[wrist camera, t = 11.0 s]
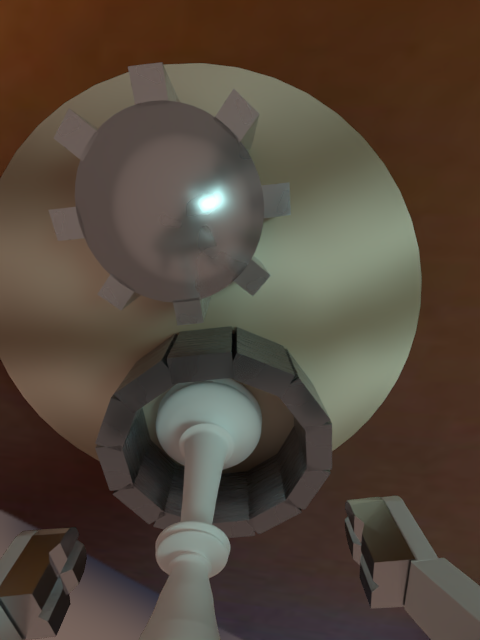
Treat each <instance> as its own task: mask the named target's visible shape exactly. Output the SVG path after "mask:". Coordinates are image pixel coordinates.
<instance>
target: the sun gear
mask: <svg viewBox="0 0 480 640" xmlns="http://www.w3.org/2000/svg"><path fill="white" fill-rule="evenodd" d="M128 70H129V75H130V81H131V86H132V91H133V96H134V101H135V105H132V106H130V107H127V108H125V109H123V110H121V111H120V112H118V113H116V114H114V115H113V116H112V117H110V118H109V119H108V120H107V121H106V122H104V123H103V124H102V125H101V126H100V128H99V129H98V128H97V127H95V126H94V125H92V124H91V123H89V122H88V121H87V120H85V119H84V118H82V117H81V116H79V115H78V114H76V113H75V112H74V111H72V110H71V109H68V111H67V113H66V115H65V117H64V119H63V121H62V123H61V125H60V126H59V128H58V130H57V132H56V134H55V136H54V139H55V140H56V141H57V142H59V143H60V144H61V145H62V146H64V147H65V148H66V149H68V150H69V151H70V152H71V153H73V154H74V155H75V156H76V157H78V158H79V159H80V163H79V166H78V169H77V175H76V181H75V204H76V207H69V208H60V209H52V210H49V214H50V217H51V220H52V223H53V227H54V230H55V233H56V236H57V240H58V241H64V240H74V239H84V238H85V240H86V242H87V245H88V247H89V248H90V250H91V252H92V253H93V255H94V256H95V258H96V259H97V260H98V262H99V263H100V264H101V266H102V267H103V268H104V269H105V270H106V271H107V272H108V273H109V274H110V276H109V277H108V279H107V280H106V282H105V283H104V285H103V286H102V288H101V289H100V291H99V292H98V294H97V295H99V296H100V297H102V298H103V299H105V300H106V301H108V302H109V303H111V304H112V305H113V306H115V307H116V308H118V309H119V310H123V309H124V308H125V307H126V306H128V305H129V304H130V303H132V302H133V301H134V300H136V299H137V298H138V297H139V296H141V295H142V296H145V297H148V298H151V299H154V300H159V301H163V302H173V305H174V310H175V316H176V321H177V326H178V325H187V324H197V323H204V319H205V316H206V313H207V310H208V306H209V303H210V300H211V295H213V294H215V293H218V292H219V291H221V290H222V289H224V288H225V287H227V286H228V285H229V284H231V283H232V282H233V281H234V282H235V283H237V284H238V285H239V286H241V287H242V288H243V289H244V290H246V291H247V292H248V293H249V294H251V295H252V296H254V295H255V294H256V292H257V291H258V290H259V289H260V288H261V286H262V285H263V284H264V283H265V282H266V280H267V279H268V278H269V277H270V276H271V275H270V274H269V272H268V271H267V269H266V268H265V267H264V265H263V264H262V262H261V261H260V260H258V259H257V258H256V257H255V256H254V253H255V251H256V248H257V246H258V243H259V240H260V237H261V232H262V228H263V220H264V218H273V217H280V216H287V215H291V208H290V185H289V182H288V183H279V184H270V185H262V186H261V182H260V179H259V175H258V172H257V170H256V167H255V165H254V162H253V160H252V159H251V157H250V155H249V153H248V151H249V150H250V148H251V147H252V144H253V140H254V135H255V131H256V127H257V122H258V118H259V113H258V112H257V111H256V110H255V109H254V108H253V107H252V106H251V105H250V104H249V103H248V102H247V101H246V100H245V99H244V98H243V97H242V96H241V95H240V94H239V93H238V92H237V91H236V90H235V89H233V90H232V92H231V93H230V95H229V96H228V98H227V99H226V101H225V102H224V104H223V105H222V107H221V108H220V110H219V111H218V113H217V114H216V116H215V117H214V116H212V115H211V114H209V113H208V112H206V111H204V110H202V109H199V108H197V107H195V106H193V105H189V104H185V103H182V102H180V101H179V99H178V97H177V94H176V92H175V90H174V88H173V85H172V83H171V81H170V79H169V76H168V74H167V72H166V70H165V67H164V65H163V63H162V62H160V63H152V64H144V65H136V66H128Z"/></svg>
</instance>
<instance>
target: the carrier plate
mask: <svg viewBox="0 0 480 640" xmlns="http://www.w3.org/2000/svg"><path fill="white" fill-rule="evenodd" d="M164 67H165V70H166V72H167V74H168V76H169V79H170V81H171V83H172V85H173V88H174V90H175V92H176V94H177V97H178V99H179V101H180V102H182V103H185V104H189V105H193V106H195V107H197V108H199V109H202V110H204V111H206V112H208V113H209V114H211V115H212V116H214V117H215V116H216V114H217V113H218V111H219V110H220V108H221V107H222V105H223V104H224V102H225V101H226V99H227V98H228V96H229V95H230V93H231V92H232V90H233V89H235V90H236V91H237V92H238V93H239V94H240V95H241V96H242V97H243V98H244V99H245V100H246V101H247V102H248V103H249V104H250V105H251V106H252V107H253V108H254V109H255V110H256V111H257V112H258V113H259V118H258V122H257V127H256V131H255V135H254V140H253V144H252V147H251V148H250V150H249V151H248V153H249V155H250V157H251V159H252V160H253V162H254V165H255V167H256V170H257V172H258V175H259V179H260V182H261V186H262V185H270V184H279V183H288V182H289V185H290V208H291V215H287V216H280V217H273V218H264V220H263V228H262V232H261V237H260V240H259V243H258V246H257V248H256V251H255V253H254V256H255V257H256V258H257V259H258V260H260V261H261V262H262V264H263V265H264V267H265V268H266V269H267V271H268V272H269V274H270V275H271V276H270V277H269V278H268V279H267V280H266V282H265V283H264V284H263V285H262V286H261V288H260V289H259V290H258V291H257V292H256V294H255V295H254V296H252V295H251V294H249V293H248V292H247V291H246V290H244V289H243V288H242V287H241V286H239V285H238V284H237V283H235V282H234V281H233V282H232V283H231V284H229V285H228V286H227V287H225V288H224V289H222V290H221V291H219V292H218V293H215V294H213V295H211V300H210V303H209V306H208V310H207V313H206V316H205V319H204V323H197V324H187V325H178V326H177V321H176V316H175V310H174V305H173V302H163V301H159V300H154V299H151V298H148V297H145V296H142V295H141V296H139V297H138V298H137V299H136V300H134V301H133V302H132V303H130V304H129V305H128V306H126V307H125V308H124V309H123V310H119V309H118V308H116V307H115V306H113V305H112V304H111V303H109V302H108V301H106V300H105V299H103V298H102V297H100V296H99V295H97V294H98V292H99V291H100V289H101V288H102V286H103V285H104V283H105V282H106V280H107V279H108V277H109V276H110V274H109V273H108V272H107V271H106V270H105V269H104V268H103V267H102V266H101V264H100V263H99V262H98V260H97V259H96V258H95V256H94V255H93V253H92V252H91V250H90V248H89V247H88V245H87V242H86V240H85V238H84V239H74V240H64V241H58V240H57V236H56V233H55V230H54V227H53V223H52V220H51V217H50V214H49V210H52V209H60V208H69V207H76V204H75V181H76V175H77V169H78V166H79V163H80V159H79V158H78V157H76V156H75V155H74V154H73V153H71V152H70V151H69V150H68V149H66V148H65V147H64V146H62V145H61V144H60V143H59V142H57V141H56V140H55V139H54V136H55V134H56V132H57V130H58V128H59V126H60V125H61V123H62V121H63V119H64V117H65V115H66V113H67V111H68V109H71V110H72V111H74V112H75V113H76V114H78V115H79V116H81V117H82V118H84V119H85V120H87V121H88V122H89V123H91V124H92V125H94V126H95V127H97V128H98V129H99V128H100V126H101V125H102V124H103V123H104V122H106V121H107V120H108V119H109V118H110V117H112V116H113V115H114V114H116V113H118V112H120V111H121V110H123V109H125V108H127V107H130V106H132V105H135V101H134V96H133V91H132V86H131V81H130V75H129V72H127V73H125V74H122V75H119V76H117V77H114V78H112V79H109V80H107V81H104V82H101V83H99V84H96V85H94V86H92V87H91V88H89V89H87V90H86V91H84V92H82V93H81V94H79V95H77V96H76V97H74V98H72V99H70V100H69V101H67V102H65V103H64V104H63V105H62V106H60V107H59V108H58V109H57V110H56V111H55V112H53V113H52V114H51V115H50V116H49V117H47V118H46V119H45V120H44V121H43V122H42V123H40V124H39V125H38V126H37V127H36V128H35V130H34V131H33V132H32V133H31V134H30V136H29V137H28V138H27V139H26V140H25V142H24V143H23V144H22V145H21V146H20V148H19V149H18V150H17V151H16V153H15V154H14V156H13V158H12V159H11V161H10V163H9V164H8V166H7V168H6V170H5V171H4V173H3V175H2V176H1V178H0V359H1V361H2V362H3V364H4V366H5V368H6V370H7V372H8V374H9V376H10V377H11V379H12V380H13V382H14V383H15V385H16V386H17V388H18V389H19V391H20V392H21V394H22V395H23V397H24V398H25V399H26V400H27V402H28V403H29V404H30V405H31V406H32V407H33V409H34V410H35V411H36V412H37V413H38V415H39V416H40V417H41V418H42V419H43V420H44V421H46V422H47V423H48V424H49V425H50V426H51V427H52V428H53V429H54V430H55V431H56V432H57V433H58V434H60V435H61V436H62V437H64V438H65V439H66V440H68V441H69V442H70V443H71V444H73V445H74V446H75V447H77V448H78V449H80V450H82V451H83V452H85V453H86V454H88V455H90V456H91V457H93V458H95V459H96V460H98V461H99V458H98V455H97V452H96V449H95V447H96V446H97V444H95V442H96V439H97V436H98V433H99V431H100V428H101V425H102V422H103V419H104V416H105V413H106V410H107V407H108V405H109V402H110V399H111V397H112V395H113V394H114V393H115V391H116V390H117V388H118V387H119V386H120V384H121V383H122V381H123V380H124V379H125V377H126V376H127V374H128V373H129V371H130V370H131V369H132V367H133V366H134V364H135V363H136V362H137V361H138V360H139V359H141V358H142V357H143V356H145V355H146V354H147V353H149V352H150V351H152V350H153V349H154V348H156V347H157V346H159V345H160V344H161V343H163V342H164V341H166V340H167V339H168V338H170V337H171V336H172V335H174V334H175V333H176V334H177V335H179V333H180V331H189V330H199V329H208V328H218V327H227V326H232V331H233V333H234V331H235V329H236V327H239V328H241V329H244V330H246V331H249V332H251V333H253V334H256V335H258V336H261V337H263V338H266V339H268V340H271V341H273V342H275V343H278V344H280V345H283V346H284V349H286V348H287V349H288V351H289V352H290V353H291V355H292V356H293V358H294V359H295V360H296V362H297V363H298V364H299V366H300V367H301V368H302V370H303V371H304V372H305V374H306V375H307V376H308V378H309V379H310V380H311V382H312V383H313V385H314V387H315V389H316V391H317V393H318V395H319V397H320V399H321V401H322V403H323V405H324V407H325V409H326V411H327V413H328V416H329V418H330V421H331V423H332V451H333V450H335V449H336V448H337V447H339V446H340V445H341V444H342V443H344V442H345V441H346V440H347V439H349V438H350V437H351V436H353V435H354V434H355V433H356V432H357V431H358V430H359V429H360V428H361V427H362V426H363V425H364V424H365V423H366V422H367V421H368V420H369V419H370V418H371V416H372V415H373V414H374V413H375V411H376V410H377V409H378V408H379V406H380V405H381V404H382V403H383V401H384V400H385V399H386V397H387V395H388V394H389V392H390V391H391V389H392V387H393V386H394V384H395V383H396V381H397V379H398V377H399V375H400V373H401V371H402V369H403V366H404V364H405V362H406V360H407V358H408V355H409V352H410V349H411V346H412V342H413V339H414V336H415V333H416V328H417V322H418V317H419V311H420V303H421V279H422V278H421V267H420V257H419V248H418V244H417V240H416V236H415V232H414V228H413V224H412V220H411V217H410V215H409V212H408V210H407V207H406V205H405V202H404V200H403V197H402V195H401V192H400V190H399V189H398V187H397V185H396V183H395V182H394V180H393V178H392V177H391V175H390V173H389V171H388V170H387V168H386V166H385V165H384V163H383V162H382V160H381V159H380V158H379V157H378V155H377V154H376V153H375V152H374V150H373V149H372V148H371V147H370V145H369V144H368V143H367V142H366V140H365V139H364V138H363V137H362V136H361V135H360V134H359V133H358V132H357V131H356V130H355V129H354V128H352V127H351V126H350V125H349V124H348V123H347V122H346V121H345V120H344V119H343V118H342V117H341V116H339V115H338V114H337V113H336V112H334V111H333V110H331V109H330V108H328V107H327V106H325V105H324V104H322V103H321V102H320V101H318V100H317V99H315V98H314V97H312V96H311V95H309V94H308V93H306V92H303V91H301V90H299V89H297V88H295V87H293V86H291V85H289V84H286V83H284V82H282V81H280V80H278V79H276V78H273V77H270V76H266V75H263V74H259V73H256V72H252V71H249V70H245V69H242V68H238V67H230V66H222V65H214V64H206V63H190V64H165V65H164ZM229 379H231V378H229ZM232 380H234V379H232ZM234 381H236V380H234ZM236 382H238V383H240V384H241V385H243V386H244V387H246V388H247V389H248V390H249V391H250V392H251V393H252V394H253V396H254V397H255V398H256V400H257V402H258V404H259V406H260V409H261V414H262V426H261V435H260V439H259V442H258V444H257V446H256V448H255V449H254V451H253V452H252V453H251V454H250V455H249V456H248V457H247V458H246V459H245V460H244V461H242V462H241V463H239V464H237V465H235V466H233V467H230V468H227V469H223V470H222V474H224V473H234V472H244V471H248V470H250V469H251V468H253V467H255V466H257V465H258V464H260V463H262V462H264V461H265V460H267V459H269V458H271V457H272V456H274V455H276V454H277V453H278V451H279V450H280V448H281V446H282V445H283V443H284V442H285V440H286V438H287V437H288V435H289V433H290V432H291V430H292V428H293V427H294V415H293V414H292V413H291V412H290V410H289V409H288V408H287V407H286V405H285V404H284V403H283V402H282V400H281V399H280V398H279V397H278V396H276V395H273V394H271V393H268V392H265V391H263V390H260V389H258V388H255V387H252V386H250V385H247V384H244V383H242V382H239V381H236ZM175 385H176V384H175ZM175 385H174V386H175ZM172 387H173V386H172ZM172 387H171V388H172ZM171 388H170V389H171ZM170 389H168V390H167V391H165V392H164V393H162V394H161V395H159V396H158V397H156V398H155V399H153V400H152V401H150V402H149V403H147V404H146V405H144V406H143V412H144V416H145V419H146V423H147V427H148V431H149V435H150V439H151V441H152V442H153V443H155V444H156V445H157V446H158V447H159V448H160V449H161V450H162V451H163V452H164V453H165V454H166V455H167V456H168V457H169V458H170V459H171V460H172V461H173V462H175V463H176V464H178V465H181V466H184V465H182V464H180V463H178V462H176V461H175V460H174V459H172V458H171V457H170V456H169V455H168V454H167V453H166V452H165V451H164V449H163V448H162V446H161V444H160V443H159V440H158V437H157V434H156V418H157V413H158V408H159V405H160V402H161V400H162V399H163V397H164V396H165V394H166V393H167V392H168V391H169V390H170ZM184 467H185V466H184Z"/></svg>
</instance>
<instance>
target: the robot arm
mask: <svg viewBox="0 0 480 640" xmlns="http://www.w3.org/2000/svg"><path fill="white" fill-rule="evenodd" d="M345 510H346V513H347V515H348V517H347V518H346V519H345V531H346V537H347V541H348V545H349V549H350V551H351V554H352V557H353V559H354V560H355V561H356V562H357V563H358V564H359V565H360V580H361V583H362V585H363V588H364V591H365V594H366V597H367V599H368V602H369V605H370V608H388V607H404V609H405V610H406V612H407V613H408V614H409V615H410V616H411V617H412V618H413V620H414V621H415V622H416V623H417V624H418V625H419V626H420V628H421V629H422V630H423V631H424V632H425V633H426V634H427V636H428V637H429V638H430V639H431V640H480V586H479V585H478V584H477V583H475V582H474V581H473V580H472V579H470V578H469V577H468V576H467V575H465V574H464V573H463V572H461V571H460V570H459V569H458V568H456V567H455V566H454V565H453V564H451V563H450V562H449V561H447V560H446V559H445V558H438V557H437V555H436V554H435V552H434V550H433V549H432V547H431V545H430V544H429V542H428V541H427V539H426V537H425V536H424V534H423V532H422V531H421V529H420V528H419V526H418V524H417V523H416V521H415V519H414V518H413V516H412V515H411V513H410V511H409V510H408V508H407V506H406V505H405V503H404V502H403V500H402V499H401V498H400V497H399V496H388V497H373V498H364V499H355V500H347V501H346V503H345ZM78 536H79V533H78V531H77V529H76V527H68V528H55V529H42V530H41V529H40V530H30V531H23V532H21V533H20V534H19V535H18V536H16V537H15V539H14V540H13V542H12V543H11V544H10V546H9V547H8V549H7V550H6V552H5V553H4V554H3V556H2V557H1V559H0V640H30V639H38V638H47V637H55V636H56V635H57V633H58V631H59V628H60V626H61V624H62V622H63V619H64V617H65V615H66V612H67V610H68V608H69V605H70V597H69V594H70V593H71V591H73V589H74V588H75V587H76V586H77V585H78V584H79V582H80V580H81V577H82V575H83V573H84V569H85V564H86V559H87V557H86V549H85V546H84V544H82V543H81V542H79V541H78V540H77V538H78Z"/></svg>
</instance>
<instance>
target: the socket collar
mask: <svg viewBox="0 0 480 640" xmlns="http://www.w3.org/2000/svg"><path fill="white" fill-rule="evenodd" d="M226 378H231V379H234V380H236V381H239V382H242V383H244V384H247V385H250V386H252V387H255V388H258V389H260V390H263V391H265V392H268V393H271V394H273V395H276V396H278V397H279V398H280V399H281V400H282V402H283V403H284V404H285V405H286V407H287V408H288V409H289V410H290V412H291V413H292V414H293V415H294V427H293V428H292V430H291V432H290V433H289V435H288V437H287V438H286V440H285V442H284V443H283V445H282V446H281V448H280V450H279V451H278V453H277V454H276V455H274V456H272V457H271V458H269V459H267V460H265V461H264V462H262V463H260V464H258V465H257V466H255V467H253V468H251V469H250V470H248V471H244V472H234V473H224V474H221V479H220V484H219V489H218V494H217V499H216V504H215V511H214V517H213V522H212V525H214V526H216V527H218V528H219V529H221V530H222V531H223V532H224V533H225V534H226V536H227V537H228V538H235V537H245V536H255V531H256V532H257V533H258V534H261V533H263V532H265V531H267V530H269V529H271V528H272V527H274V526H276V525H278V524H280V523H282V522H284V521H286V520H288V519H290V518H292V517H294V516H296V515H297V514H299V513H301V509H304V510H305V509H306V507H307V506H308V504H309V503H310V502H311V500H312V499H313V497H314V496H315V495H316V493H317V492H318V490H319V489H320V487H321V486H322V485H323V483H324V482H325V480H326V479H327V478H328V476H329V475H330V470H329V469H332V423H331V421H330V418H329V416H328V413H327V411H326V409H325V407H324V405H323V403H322V401H321V399H320V397H319V395H318V393H317V391H316V389H315V387H314V385H313V383H312V382H311V380H310V379H309V378H308V376H307V375H306V374H305V372H304V371H303V370H302V368H301V367H300V366H299V364H298V363H297V362H296V360H295V359H294V358H293V356H292V355H291V353H290V352H289V351H288V349H287V348H286V349H284V346H283V345H280V344H278V343H275V342H273V341H271V340H268V339H266V338H263V337H261V336H258V335H256V334H253V333H251V332H249V331H246V330H244V329H241V328H239V327H236V329H235V331H234V333H233V331H232V326H227V327H218V328H208V329H199V330H189V331H180V333H179V335H177V334H176V333H175V334H174V335H172V336H171V337H170V338H168V339H167V340H166V341H164V342H163V343H161V344H160V345H159V346H157V347H156V348H154V349H153V350H152V351H150V352H149V353H147V354H146V355H145V356H143V357H142V358H141V359H139V360H138V361H137V362H136V363H135V364H134V366H133V367H132V369H131V370H130V371H129V373H128V374H127V376H126V377H125V379H124V380H123V381H122V383H121V384H120V386H119V387H118V388H117V390H116V391H115V393H114V394H113V395H112V397H111V399H110V402H109V405H108V407H107V410H106V413H105V416H104V419H103V422H102V425H101V428H100V431H99V433H98V436H97V439H96V442H95V444H97V446H96V447H95V449H96V452H97V455H98V458H99V461H100V464H101V467H102V470H103V472H104V475H105V478H106V481H107V484H108V487H109V490H110V491H114V492H113V495H114V496H115V497H116V498H118V499H119V500H120V501H121V502H122V503H124V504H125V505H126V506H127V507H128V508H130V509H131V510H132V511H133V512H134V513H136V514H137V515H138V516H139V517H141V518H142V519H143V520H144V521H145V522H147V523H148V524H151V523H153V522H154V525H153V527H156V528H160V529H165V528H167V527H168V526H170V525H172V524H174V523H177V522H180V521H181V509H182V500H183V486H184V469H185V467H184V466H181V465H178V464H176V463H175V462H173V461H172V460H171V459H170V458H169V457H168V456H167V455H166V454H165V453H164V452H163V451H162V450H161V449H160V448H159V447H158V446H157V445H156V444H155V443H153V442H152V441H151V439H150V435H149V431H148V427H147V423H146V419H145V416H144V412H143V406H144V405H146V404H147V403H149V402H150V401H152V400H153V399H155V398H156V397H158V396H159V395H161V394H162V393H164V392H165V391H167V390H168V389H170V388H171V387H172V386H174V385H175V384H178V383H188V382H197V381H207V380H217V379H226Z"/></svg>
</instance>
